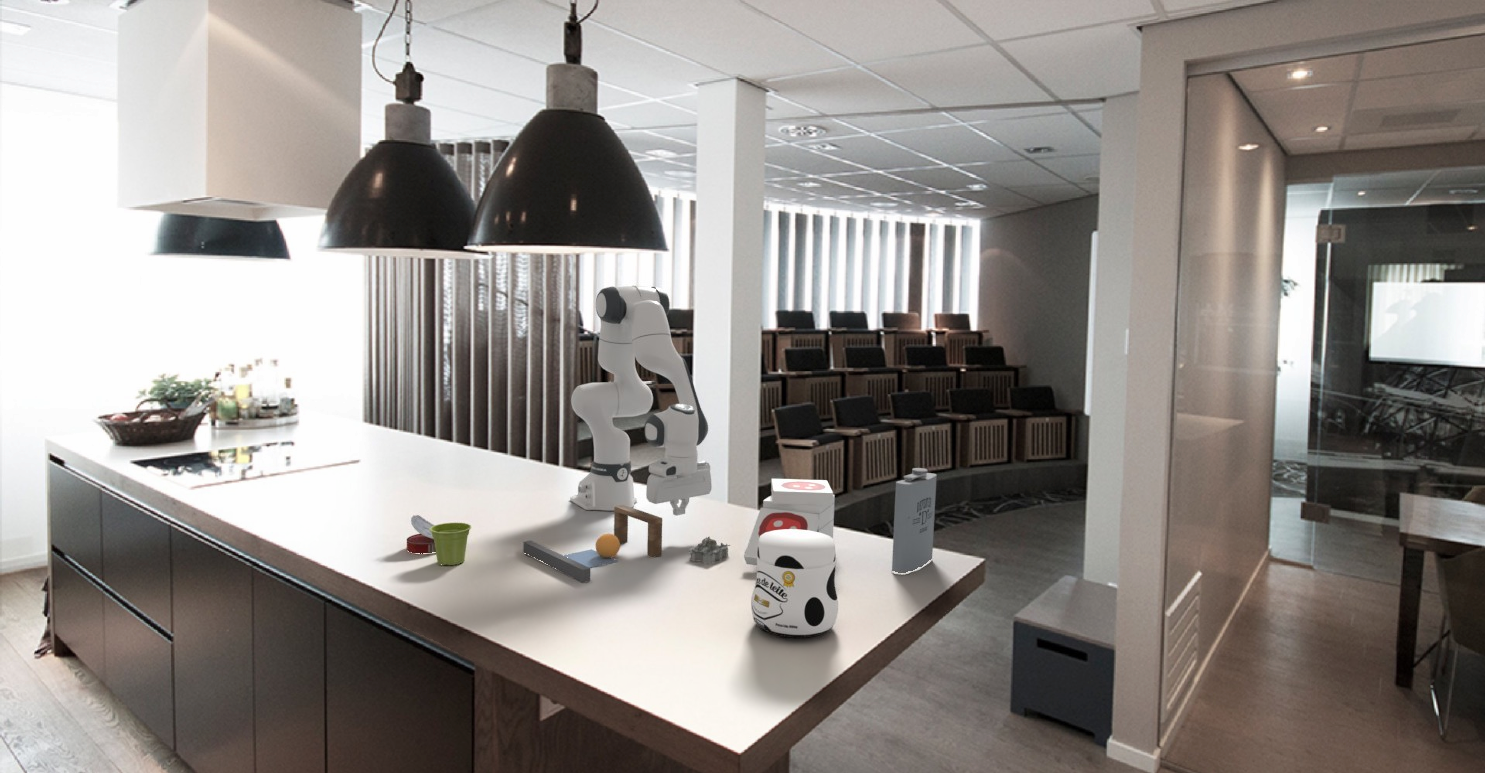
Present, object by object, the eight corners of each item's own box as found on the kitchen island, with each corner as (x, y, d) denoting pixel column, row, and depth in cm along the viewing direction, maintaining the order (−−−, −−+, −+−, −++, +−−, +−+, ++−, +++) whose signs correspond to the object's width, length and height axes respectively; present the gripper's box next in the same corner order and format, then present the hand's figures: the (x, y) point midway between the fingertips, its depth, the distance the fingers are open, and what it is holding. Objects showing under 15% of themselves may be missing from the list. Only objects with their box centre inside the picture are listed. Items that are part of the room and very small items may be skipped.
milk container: (737, 635, 158) (740, 545, 156) (767, 606, 174) (769, 523, 172) (824, 651, 152) (828, 557, 150) (846, 619, 168) (850, 534, 166)
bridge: (652, 557, 205) (652, 519, 204) (613, 542, 217) (614, 506, 216) (661, 555, 207) (662, 517, 206) (623, 540, 219) (623, 504, 219)
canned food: (427, 560, 212) (440, 523, 216) (450, 564, 206) (463, 526, 210) (389, 549, 204) (404, 510, 207) (413, 553, 198) (427, 513, 202)
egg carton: (708, 550, 214) (709, 535, 213) (733, 556, 210) (733, 540, 209) (684, 560, 205) (685, 544, 204) (709, 566, 201) (710, 549, 200)
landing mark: (550, 558, 202) (550, 557, 202) (591, 549, 210) (591, 549, 210) (575, 571, 193) (575, 570, 193) (618, 561, 201) (618, 560, 201)
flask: (906, 577, 196) (912, 474, 193) (889, 572, 199) (894, 471, 196) (937, 560, 210) (942, 464, 207) (920, 556, 212) (925, 462, 210)
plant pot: (422, 561, 197) (422, 526, 196) (459, 553, 203) (459, 519, 203) (441, 571, 190) (441, 534, 189) (478, 562, 197) (478, 527, 196)
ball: (612, 535, 209) (602, 557, 207) (597, 527, 205) (586, 549, 203) (628, 541, 205) (618, 563, 203) (613, 533, 201) (602, 556, 199)
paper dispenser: (736, 571, 197) (738, 497, 195) (775, 539, 225) (777, 474, 223) (812, 582, 190) (815, 506, 188) (843, 548, 218) (846, 482, 216)
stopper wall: (523, 553, 205) (523, 541, 205) (530, 551, 207) (530, 540, 207) (582, 582, 185) (582, 569, 185) (590, 580, 186) (590, 568, 186)
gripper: (702, 458, 230) (700, 505, 231) (643, 466, 216) (642, 517, 217) (717, 462, 225) (715, 511, 227) (658, 471, 211) (656, 523, 213)
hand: (679, 514), depth 222 cm, fingers closed
